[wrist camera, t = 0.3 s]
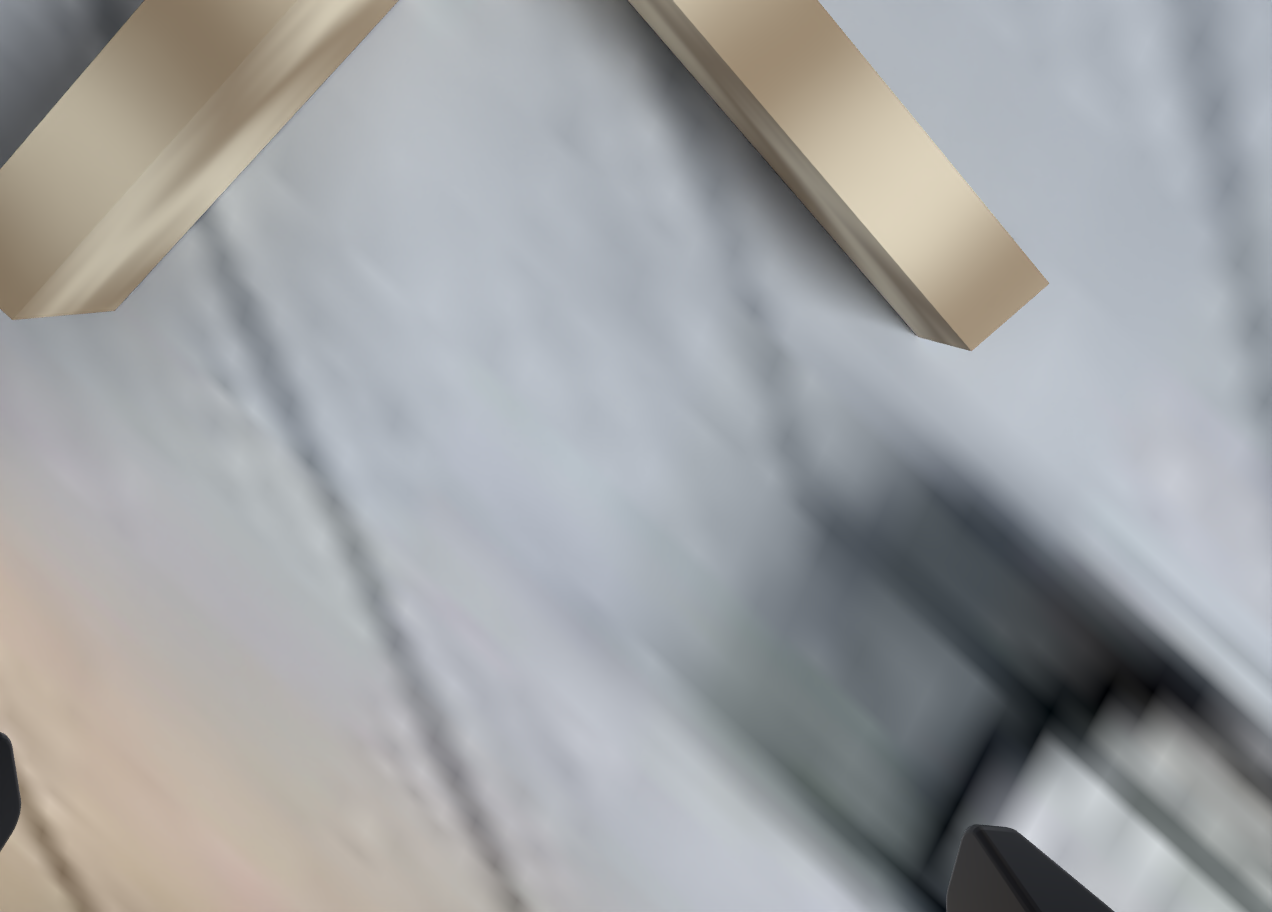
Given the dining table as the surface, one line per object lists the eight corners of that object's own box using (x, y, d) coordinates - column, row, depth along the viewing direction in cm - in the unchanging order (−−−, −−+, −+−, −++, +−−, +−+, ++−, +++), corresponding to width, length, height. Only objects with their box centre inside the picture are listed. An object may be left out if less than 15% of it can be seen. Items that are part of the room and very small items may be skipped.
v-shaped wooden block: (975, 338, 21) (1040, 353, 18) (57, 308, 21) (-57, 317, 18) (1048, -280, 18) (1143, -406, 15) (-16, -316, 18) (-168, -450, 15)
